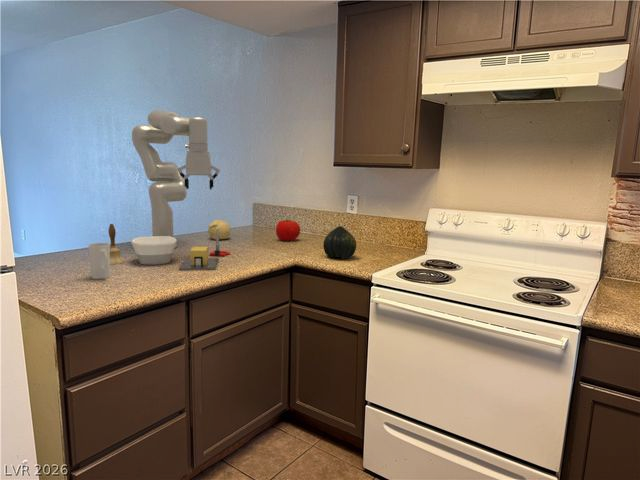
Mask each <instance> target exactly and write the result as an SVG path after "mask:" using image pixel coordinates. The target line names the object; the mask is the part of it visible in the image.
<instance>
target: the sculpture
mask: <svg viewBox="0 0 640 480" xmlns="http://www.w3.org/2000/svg"><path fill="white" fill-rule="evenodd" d="M209 224H210V225H208V228H207V233H208V235H209V237H210V238H211V239H212V240H214V241H216V232H217V228H219V240H226V239H229V237H230V236H231V230H232V229H231V226H230V225H229V223H228V222H226V221H225V220H222V219H218V220H217V219H214V220H212V221H211V222H210V223H209Z"/></svg>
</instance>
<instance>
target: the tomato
mask: <svg viewBox="0 0 640 480" xmlns="http://www.w3.org/2000/svg"><path fill="white" fill-rule="evenodd" d="M275 233H276V237H277V238H278V239H279V240H280V241H283V242H285V241H286V242H290V241H295V240H296V239H297V238H299V235H300V233H301V228H300V224H299V222H297V221H295V220H291V219H289V220H288V219H283V220H279V221H278V222H277V224H276V228H275Z"/></svg>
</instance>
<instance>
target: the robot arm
mask: <svg viewBox="0 0 640 480" xmlns="http://www.w3.org/2000/svg"><path fill="white" fill-rule="evenodd" d="M147 122H148V124H139V125H136V126H135V127H133V129H132V131H131V139H132V140H131V142H132V144H133V147H134V148H135V151H136V152H137V154H138V156H139V157H140V160H141V164H142V166H143V170H144V173H145V175H146V177H147V180H149V181H150V182H152V183H151V184H149V186H148V196H149V200H150V208H151V228H152V230H151V232H152V236H170V237H174V212H173V209H172V207H171V206H170V204H169V203H171V202H173V203H174V202H182V201H184V200H185V199H186V197H187V194H188V192H187V190H188V189H189V188H190V187H189V185H190V184H189V183H190V182H189V177H190V176H207V177H208V178H209V190H212V189H213V188H214V180H215V178H217V176H218V175H219V173H220V169H219V168H218V167H216V166H214V165H212V161H211V154H210V151H209V150H208V146H209V145H208V120H207V118H204V117H198V116H196V117H195V116H193V117H182V116H180V115H179V114H178V113H177V112H175V111H167V110H166V111H165V110H159V109H158V110H152V111H151V112H149V114H148V116H147ZM174 136H183V137H184V136H185V137H186V136H187V137H188V144H185V149H188V151H186V157H185V158H186V159H185V164H184V165H182V166H180V167H179V166H178V165H177V163H175V162H172V161H162V159H161V157H160V155H159V152H158V150H156V148H155V147H153V146H152V145H151V144H157V145H160V144H161V145H166V144H168V143H170V142H171V140H173V138H174ZM183 170H185V173H186V174H184V173H183ZM212 170H213V171H215V172H214V174H213V175H212ZM177 248H178V244H177V243H176V245H175V248H174V249H177Z"/></svg>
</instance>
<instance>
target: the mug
mask: <svg viewBox="0 0 640 480" xmlns="http://www.w3.org/2000/svg"><path fill="white" fill-rule="evenodd" d="M110 248H111V246H110V242H109V243H108V242H93V243H88V255H89V267H90V268H89V269H90V276H91V279H94V280H103V279H104V280H105V279H108V278H110V277H111V265H110Z"/></svg>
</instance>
